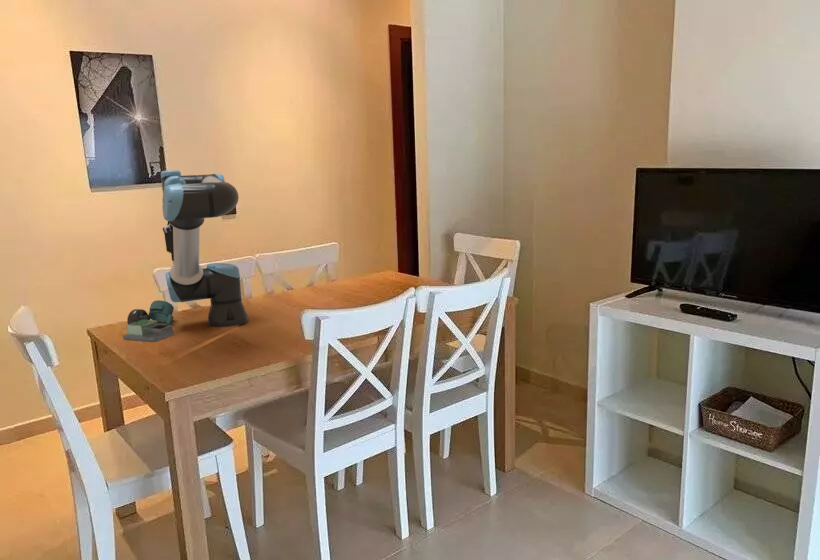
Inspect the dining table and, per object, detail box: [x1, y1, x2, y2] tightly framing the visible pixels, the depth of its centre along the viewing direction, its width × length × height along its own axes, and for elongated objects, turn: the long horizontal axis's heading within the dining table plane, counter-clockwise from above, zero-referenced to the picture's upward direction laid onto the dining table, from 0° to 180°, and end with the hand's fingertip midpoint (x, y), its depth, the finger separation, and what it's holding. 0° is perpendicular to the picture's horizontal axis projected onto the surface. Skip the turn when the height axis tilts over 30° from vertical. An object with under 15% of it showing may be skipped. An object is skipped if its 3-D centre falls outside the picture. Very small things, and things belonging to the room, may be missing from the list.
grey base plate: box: [122, 319, 175, 343], centre depth 231 cm, size 14×10×5 cm
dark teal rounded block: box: [147, 299, 175, 325], centre depth 247 cm, size 9×9×9 cm
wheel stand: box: [127, 308, 149, 325], centre depth 238 cm, size 6×8×8 cm
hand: (180, 267), depth 259 cm, fingers closed on pin, 4 cm apart
